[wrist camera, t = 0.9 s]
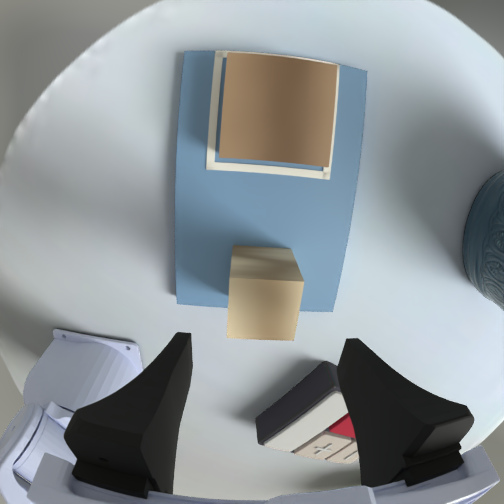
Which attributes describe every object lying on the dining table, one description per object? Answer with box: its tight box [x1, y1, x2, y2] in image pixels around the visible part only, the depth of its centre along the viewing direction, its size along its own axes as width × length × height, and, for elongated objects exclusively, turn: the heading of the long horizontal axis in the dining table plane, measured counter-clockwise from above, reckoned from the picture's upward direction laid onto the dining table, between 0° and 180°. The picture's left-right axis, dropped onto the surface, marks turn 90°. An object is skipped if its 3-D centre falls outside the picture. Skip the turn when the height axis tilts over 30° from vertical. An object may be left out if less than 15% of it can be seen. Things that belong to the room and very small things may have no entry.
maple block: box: [227, 245, 304, 341], centre depth 19 cm, size 4×4×5 cm
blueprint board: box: [175, 50, 367, 312], centre depth 20 cm, size 12×18×1 cm, turn 176°
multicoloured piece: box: [256, 361, 359, 464], centre depth 28 cm, size 11×4×15 cm
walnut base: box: [219, 52, 337, 167], centre depth 16 cm, size 6×6×3 cm
